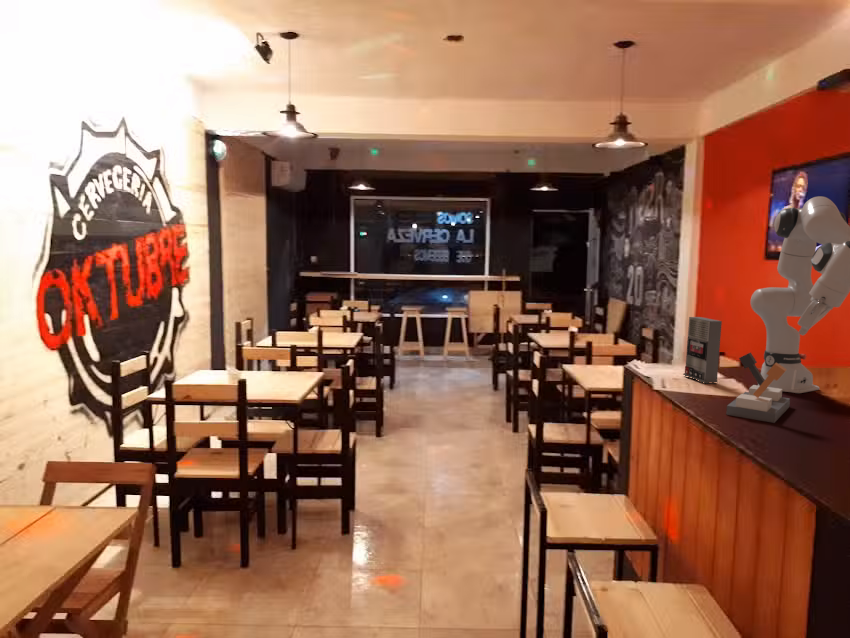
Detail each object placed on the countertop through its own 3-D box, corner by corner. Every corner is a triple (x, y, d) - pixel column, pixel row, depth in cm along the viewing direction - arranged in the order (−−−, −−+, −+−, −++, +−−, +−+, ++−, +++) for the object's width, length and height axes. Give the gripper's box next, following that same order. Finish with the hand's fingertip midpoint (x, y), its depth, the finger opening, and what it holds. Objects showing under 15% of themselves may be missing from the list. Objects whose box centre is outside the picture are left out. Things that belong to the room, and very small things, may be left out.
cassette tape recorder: (682, 376, 268) (687, 317, 265) (695, 376, 269) (700, 316, 266) (703, 384, 254) (708, 321, 251) (717, 383, 256) (722, 321, 252)
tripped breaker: (752, 391, 209) (776, 362, 204) (762, 398, 207) (786, 369, 202) (750, 392, 206) (774, 363, 201) (760, 400, 205) (785, 371, 200)
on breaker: (760, 387, 224) (740, 357, 227) (770, 383, 222) (750, 352, 225) (758, 389, 221) (738, 358, 224) (768, 384, 219) (748, 353, 222)
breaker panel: (744, 400, 229) (746, 383, 228) (789, 407, 221) (790, 389, 220) (726, 414, 209) (727, 396, 208) (774, 422, 200) (776, 404, 200)
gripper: (830, 306, 181) (803, 346, 188) (845, 294, 196) (819, 332, 202) (808, 295, 184) (782, 335, 191) (824, 284, 199) (799, 321, 205)
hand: (801, 333), depth 197 cm, fingers closed
